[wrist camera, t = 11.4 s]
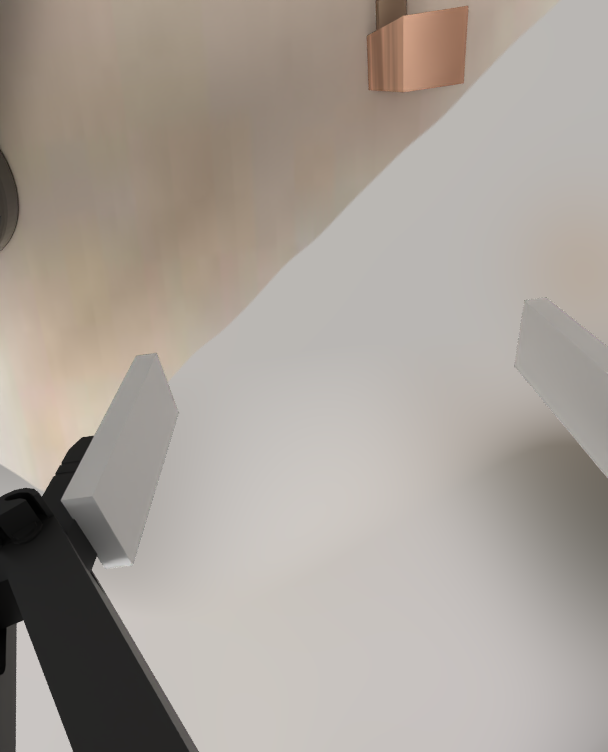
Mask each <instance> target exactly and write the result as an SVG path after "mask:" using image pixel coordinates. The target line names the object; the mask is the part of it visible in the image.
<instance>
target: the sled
mask: <svg viewBox="0 0 608 752" xmlns="http://www.w3.org/2000/svg"><path fill="white" fill-rule="evenodd" d="M406 5H407V0H376V31H375V32H373V33H371V34H370V35H368V36H367V54H368V81H369V90H376V91H392V92H408V91H415V90H422V89H428V88H435V87H442V86H449V85H455V84H462V83H464V69H465V53H466V37H467V21H468V6H464V7H457V8H451V9H444V10H438V11H431V12H425V13H418V14H412V15H406Z"/></svg>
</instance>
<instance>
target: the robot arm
mask: <svg viewBox="0 0 608 752" xmlns="http://www.w3.org/2000/svg"><path fill="white" fill-rule="evenodd" d="M17 217H18V199H17V192H16V187H15V183H14V180H13V177H12V174H11V171H10V169H9V167H8V164H7V162H6V160H5V158H4V156H3V155H2V153H1V151H0V251H1V250H2V249H3V248H4V247H5V245H6V244H7V243H8V242H9V240H10V238H11V237H12V235H13V232H14V230H15V227H16V223H17ZM514 366H515V368H516V369H517V370H518V371H519V373H520V374H521V375H522V376H523V377H524V379H525V380H526V381H527V382H528V383H529V385H530V386H531V387H532V388H533V389H534V391H535V392H536V393H537V394H538V395H539V397H540V398H541V399H542V400H543V401H544V403H545V404H546V405H547V406H548V407H549V409H550V410H551V411H552V412H553V413H554V415H555V416H556V417H557V418H558V419H559V420H560V422H561V423H562V424H563V425H564V426H565V428H566V429H567V430H568V431H569V432H570V434H571V435H572V436H573V437H574V438H575V440H576V441H577V442H578V443H579V444H580V446H581V447H582V448H583V449H584V450H585V452H586V453H587V454H588V455H589V456H590V457H591V459H592V460H593V461H594V462H595V464H596V465H597V466H598V467H599V468H600V470H601V471H602V472H603V473H604V474H605V476H606V477H607V478H608V346H607V345H606V344H604V343H603V342H602V341H601V340H599V339H598V338H597V337H596V336H594V335H593V334H592V333H591V332H589V331H588V330H587V329H586V328H584V327H583V326H582V325H581V324H579V323H578V322H577V321H575V320H574V319H573V318H572V317H570V316H569V315H568V314H567V313H565V312H564V311H563V310H562V309H560V308H559V307H558V306H557V305H555V304H554V303H553V302H552V301H550V300H549V299H548V298H547V297H545V298H538V299H531V300H525V301H524V306H523V313H522V319H521V325H520V332H519V338H518V345H517V351H516V358H515V365H514ZM178 414H179V412H178V409H177V406H176V403H175V401H174V398H173V396H172V393H171V390H170V387H169V385H168V382H167V379H166V377H165V374H164V371H163V368H162V366H161V363H160V360H159V358H158V355H157V353H153V354H146V355H139V356H136V357H135V359H134V361H133V362H132V364H131V366H130V368H129V370H128V372H127V374H126V376H125V378H124V380H123V382H122V384H121V385H120V387H119V389H118V391H117V393H116V395H115V397H114V399H113V401H112V403H111V405H110V407H109V408H108V410H107V412H106V414H105V416H104V418H103V420H102V422H101V424H100V426H99V428H98V430H97V431H96V433H95V435H94V436H88V437H82V438H81V439H80V440H79V441H78V442H77V443H76V444H74V445H73V446H72V447H71V448H70V449H69V451H68V452H67V454H66V456H65V458H64V459H63V461H62V465H60V466H59V468H58V470H57V472H56V473H55V474H56V476H54V477H53V479H52V480H51V482H50V484H49V486H48V487H47V489H46V491H45V493H44V494H43V496H42V497H41V495H40V494H39V493H38V492H37V491H36V490H35V489H30V488H23V489H18V490H14V491H12V492H10V493H7V494H5V495H3V496H1V497H0V752H15V746H16V738H15V737H16V624H17V623H18V622H20V621H23V620H24V623H25V625H26V628H27V631H28V633H29V636H30V639H31V641H32V644H33V646H34V649H35V651H36V654H37V657H38V660H39V662H40V665H41V668H42V670H43V673H44V676H45V678H46V681H47V683H48V686H49V689H50V691H51V694H52V697H53V699H54V702H55V704H56V707H57V710H58V712H59V715H60V718H61V720H62V723H63V726H64V728H65V731H66V734H67V736H68V739H69V741H70V744H71V747H72V749H73V752H199V751H198V750H197V748H196V746H195V744H194V743H193V741H192V739H191V738H190V736H189V734H188V732H187V731H186V729H185V727H184V726H183V724H182V722H181V721H180V719H179V717H178V715H177V714H176V712H175V710H174V709H173V707H172V705H171V703H170V702H169V700H168V698H167V697H166V695H165V693H164V692H163V690H162V688H161V686H160V685H159V683H158V681H157V680H156V678H155V676H154V675H153V673H152V671H151V670H150V668H149V666H148V664H147V663H146V661H145V659H144V658H143V656H142V654H141V652H140V651H139V649H138V647H137V646H136V644H135V642H134V641H133V639H132V637H131V635H130V634H129V632H128V630H127V629H126V627H125V625H124V624H123V622H122V620H121V618H120V617H119V615H118V613H117V612H116V610H115V608H114V607H113V605H112V603H111V602H110V600H109V598H108V597H107V595H106V593H105V591H104V590H103V588H102V586H101V584H100V583H99V581H98V579H97V578H96V576H95V575H94V573H93V572H92V567H93V565H94V562H95V559H96V557H98V558H99V560H100V562H101V563H102V565H103V566H104V568H105V569H108V568H116V567H124V566H131V565H133V564H134V560H135V557H136V553H137V550H138V547H139V544H140V540H141V537H142V534H143V530H144V527H145V523H146V520H147V517H148V514H149V510H150V507H151V504H152V500H153V497H154V494H155V490H156V487H157V484H158V480H159V477H160V473H161V470H162V467H163V464H164V460H165V457H166V454H167V450H168V447H169V444H170V440H171V437H172V434H173V431H174V427H175V424H176V420H177V417H178Z"/></svg>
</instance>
